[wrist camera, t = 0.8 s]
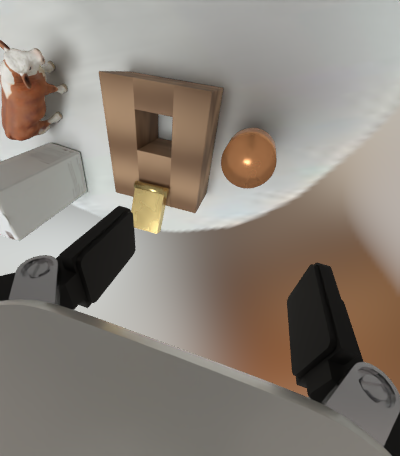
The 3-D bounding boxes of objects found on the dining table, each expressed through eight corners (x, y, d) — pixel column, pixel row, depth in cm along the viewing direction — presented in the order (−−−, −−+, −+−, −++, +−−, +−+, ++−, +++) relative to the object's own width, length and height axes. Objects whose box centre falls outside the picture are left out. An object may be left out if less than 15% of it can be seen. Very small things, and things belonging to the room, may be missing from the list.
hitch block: (129, 71, 26) (98, 71, 21) (223, 88, 24) (211, 91, 20) (136, 176, 35) (116, 192, 30) (206, 193, 33) (195, 213, 28)
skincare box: (51, 141, 35) (-56, 175, 24) (83, 152, 35) (-10, 191, 23) (62, 185, 41) (-21, 229, 29) (90, 194, 40) (16, 244, 29)
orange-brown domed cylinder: (238, 114, 25) (227, 129, 19) (281, 122, 25) (284, 141, 18) (229, 156, 29) (217, 181, 22) (267, 165, 28) (265, 193, 21)
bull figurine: (85, 62, 27) (27, 59, 20) (57, 138, 35) (9, 152, 28) (55, 31, 26) (-16, 17, 19) (33, 116, 33) (-22, 127, 27)
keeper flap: (139, 180, 28) (134, 180, 27) (170, 188, 27) (166, 188, 26) (132, 223, 29) (127, 225, 28) (161, 232, 29) (158, 234, 27)
